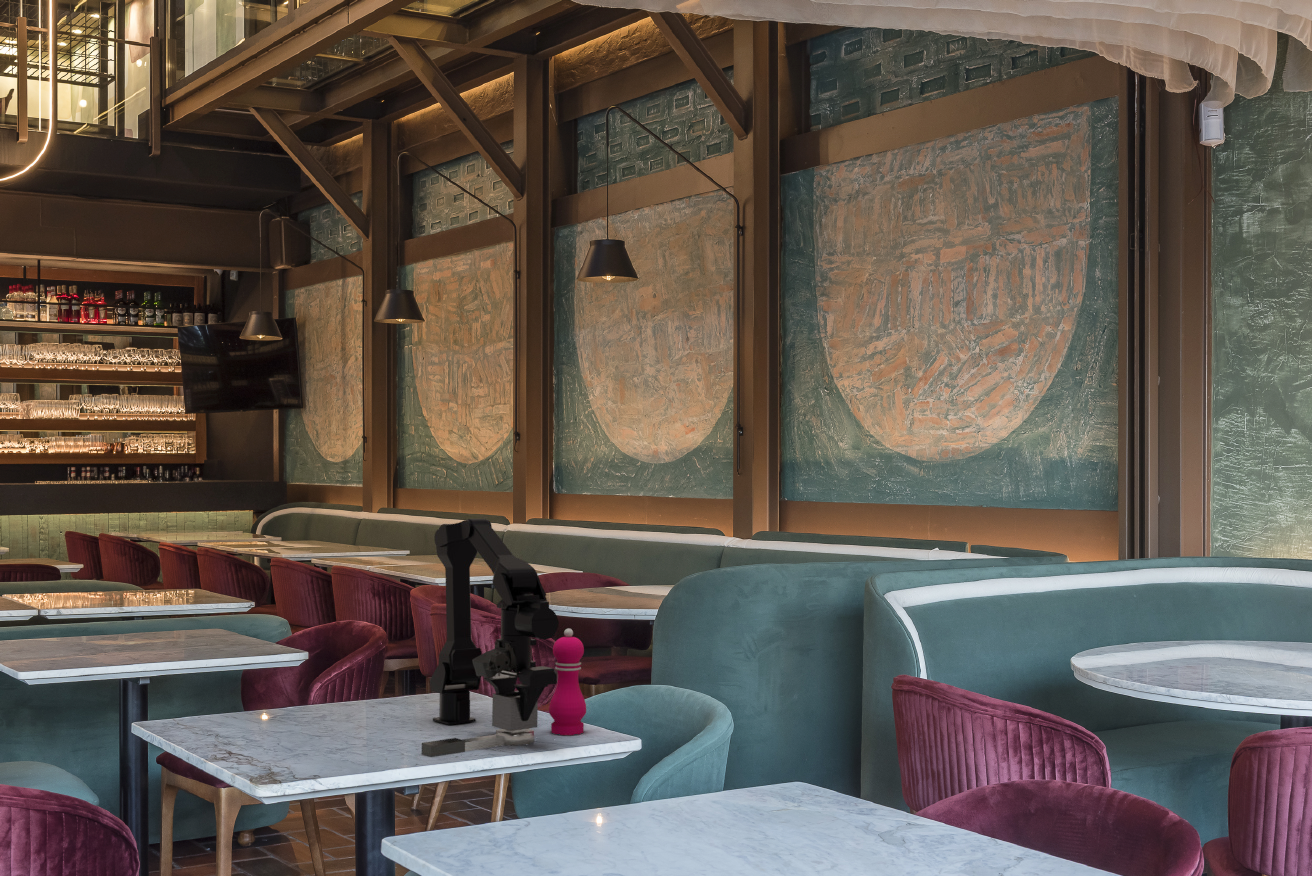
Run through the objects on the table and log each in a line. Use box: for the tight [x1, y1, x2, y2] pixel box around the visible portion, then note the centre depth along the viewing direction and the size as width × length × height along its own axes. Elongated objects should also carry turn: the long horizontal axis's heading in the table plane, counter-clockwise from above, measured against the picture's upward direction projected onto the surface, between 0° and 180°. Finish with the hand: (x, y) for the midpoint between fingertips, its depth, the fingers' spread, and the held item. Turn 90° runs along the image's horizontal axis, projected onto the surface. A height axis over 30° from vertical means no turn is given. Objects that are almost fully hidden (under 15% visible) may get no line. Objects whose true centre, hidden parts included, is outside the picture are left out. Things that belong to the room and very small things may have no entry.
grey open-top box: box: [491, 690, 539, 731], centre depth 237 cm, size 6×6×6 cm
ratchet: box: [420, 728, 535, 758], centre depth 232 cm, size 7×22×5 cm, turn 131°
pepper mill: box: [548, 628, 587, 736], centre depth 246 cm, size 7×7×20 cm
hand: (515, 718), depth 237 cm, fingers closed on grey open-top box, 6 cm apart
